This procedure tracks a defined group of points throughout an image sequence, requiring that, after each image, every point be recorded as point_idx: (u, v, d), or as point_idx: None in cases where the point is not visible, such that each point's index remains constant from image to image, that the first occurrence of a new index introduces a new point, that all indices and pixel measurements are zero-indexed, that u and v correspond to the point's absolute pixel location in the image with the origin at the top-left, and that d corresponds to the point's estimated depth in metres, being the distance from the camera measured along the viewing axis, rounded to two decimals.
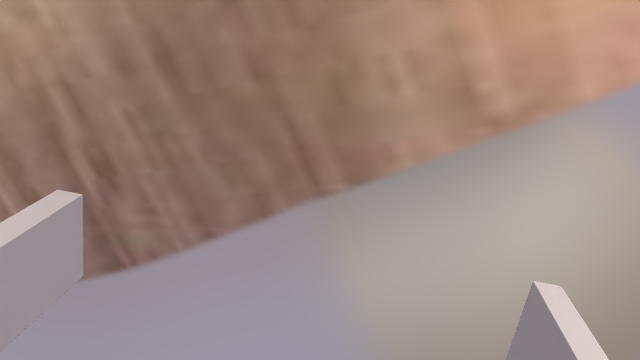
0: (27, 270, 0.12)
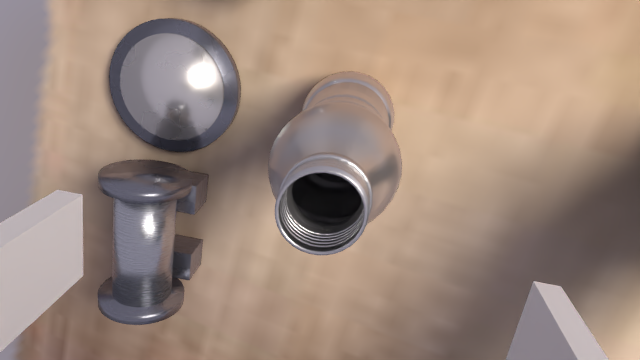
0: (27, 270, 0.12)
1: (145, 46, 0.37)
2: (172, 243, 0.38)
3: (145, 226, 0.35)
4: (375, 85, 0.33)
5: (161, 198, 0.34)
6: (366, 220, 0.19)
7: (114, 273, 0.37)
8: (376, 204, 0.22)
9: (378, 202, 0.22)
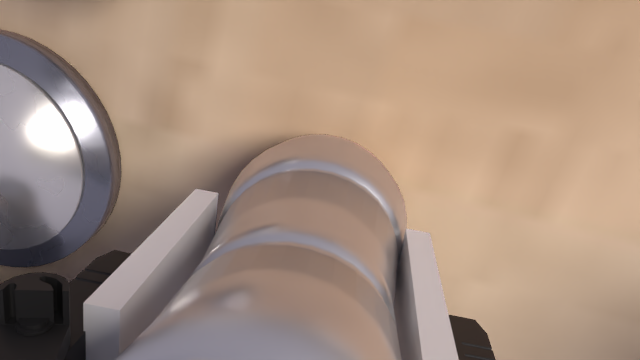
0: (189, 260, 0.14)
1: None
2: None
3: None
4: (368, 172, 0.16)
5: None
6: None
7: None
8: None
9: None
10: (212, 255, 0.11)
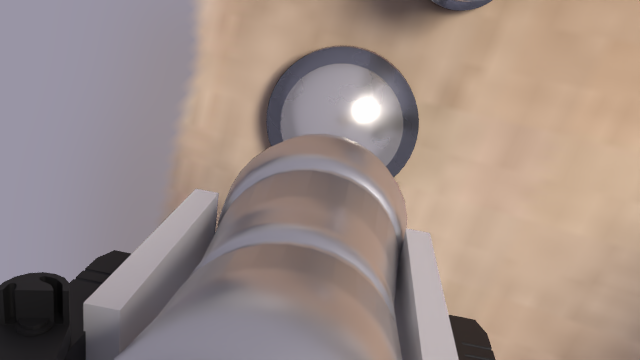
0: (189, 259, 0.14)
1: (315, 78, 0.32)
2: None
3: None
4: (369, 172, 0.16)
5: None
6: None
7: None
8: None
9: None
10: (212, 254, 0.11)
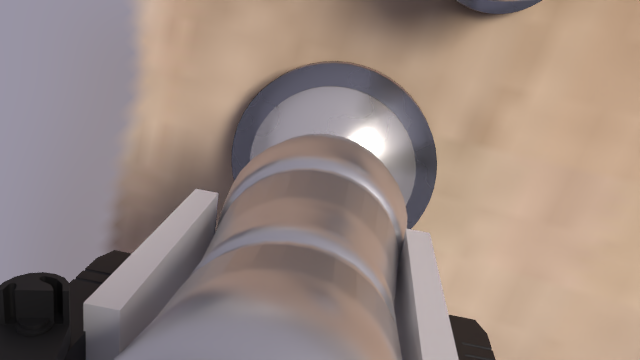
0: (189, 259, 0.14)
1: (296, 106, 0.23)
2: None
3: None
4: (369, 172, 0.16)
5: None
6: None
7: None
8: None
9: None
10: (212, 254, 0.11)
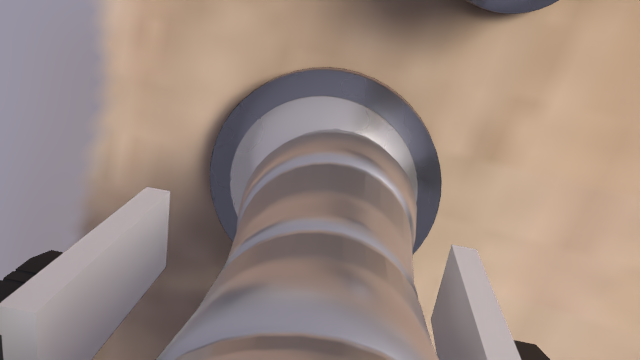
0: (132, 260, 0.13)
1: (281, 119, 0.20)
2: None
3: None
4: (382, 165, 0.16)
5: None
6: None
7: None
8: None
9: None
10: (246, 244, 0.12)
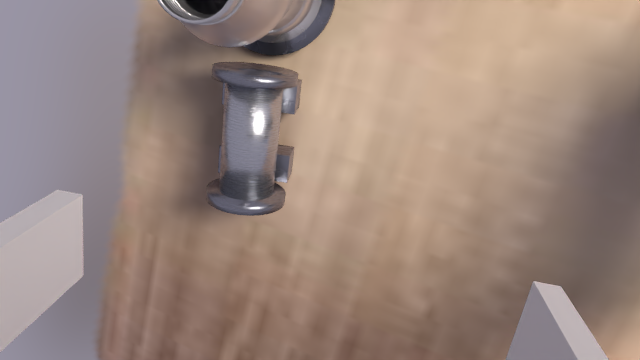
0: (27, 270, 0.12)
1: None
2: (278, 138, 0.39)
3: (259, 116, 0.37)
4: None
5: (277, 84, 0.35)
6: None
7: (225, 168, 0.39)
8: None
9: None
10: None
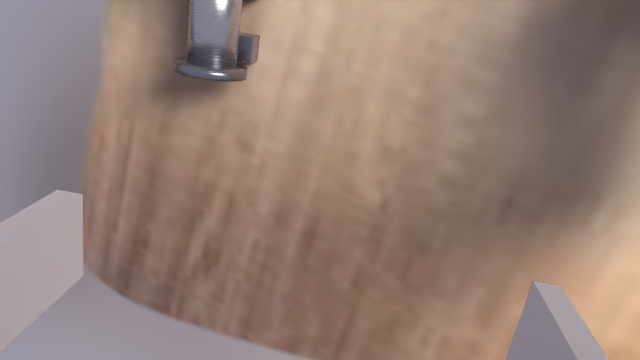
0: (27, 270, 0.12)
1: None
2: (240, 14, 0.43)
3: None
4: None
5: None
6: None
7: (190, 37, 0.42)
8: None
9: None
10: None
